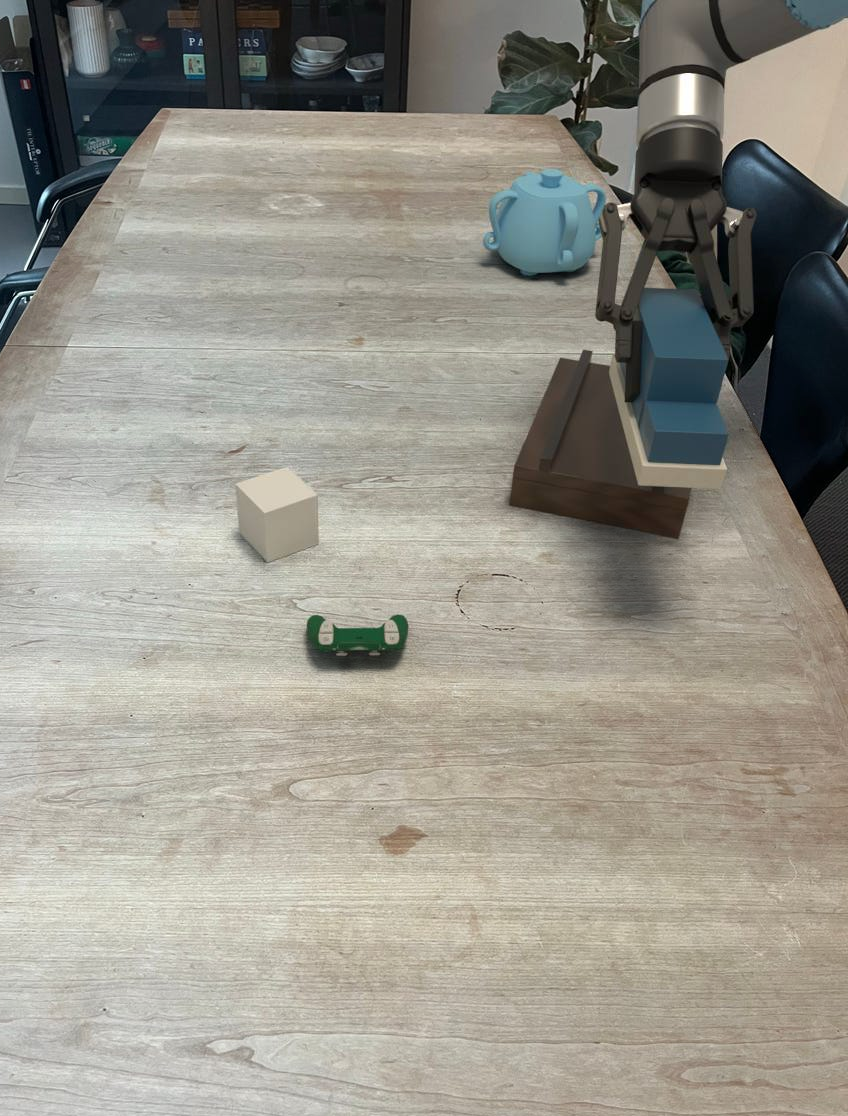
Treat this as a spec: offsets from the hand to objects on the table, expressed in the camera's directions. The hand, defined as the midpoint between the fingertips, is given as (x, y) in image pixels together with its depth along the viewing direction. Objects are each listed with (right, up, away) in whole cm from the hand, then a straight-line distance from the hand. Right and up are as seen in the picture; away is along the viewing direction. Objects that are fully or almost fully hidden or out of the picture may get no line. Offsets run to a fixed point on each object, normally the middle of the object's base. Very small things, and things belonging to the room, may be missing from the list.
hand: (670, 399), depth 91 cm
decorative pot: (0, +37, +70) cm, 79 cm away
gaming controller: (-28, -22, +3) cm, 36 cm away
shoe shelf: (+1, -1, +27) cm, 27 cm away
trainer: (0, -2, +3) cm, 3 cm away
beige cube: (-36, -11, +15) cm, 40 cm away
